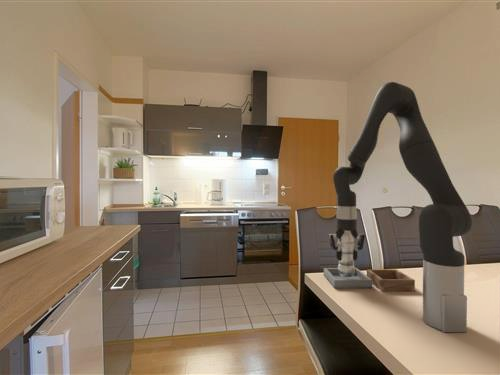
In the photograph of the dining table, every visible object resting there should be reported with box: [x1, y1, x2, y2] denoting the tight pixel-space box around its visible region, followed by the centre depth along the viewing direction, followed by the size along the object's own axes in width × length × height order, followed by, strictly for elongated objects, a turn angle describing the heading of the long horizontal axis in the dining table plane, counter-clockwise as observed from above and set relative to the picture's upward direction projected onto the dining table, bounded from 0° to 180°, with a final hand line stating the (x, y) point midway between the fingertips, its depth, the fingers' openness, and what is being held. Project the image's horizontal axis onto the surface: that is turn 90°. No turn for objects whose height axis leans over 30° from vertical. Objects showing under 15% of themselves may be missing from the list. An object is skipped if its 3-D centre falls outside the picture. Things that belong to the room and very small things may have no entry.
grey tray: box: [323, 267, 373, 289], centre depth 106 cm, size 14×14×3 cm
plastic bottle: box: [337, 231, 356, 277], centre depth 106 cm, size 6×7×20 cm
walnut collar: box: [366, 268, 416, 292], centre depth 102 cm, size 12×12×4 cm
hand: (346, 259), depth 106 cm, fingers closed on plastic bottle, 5 cm apart
